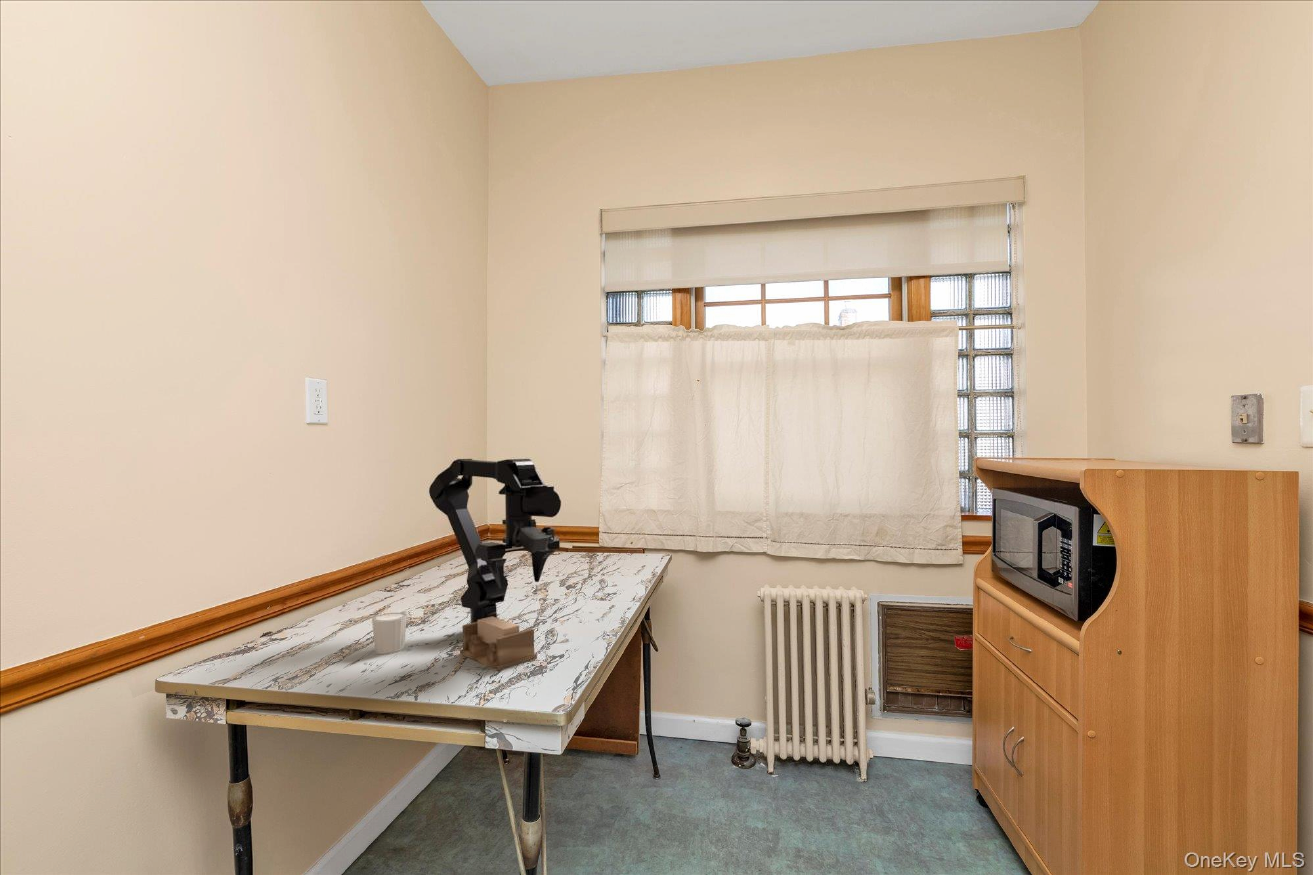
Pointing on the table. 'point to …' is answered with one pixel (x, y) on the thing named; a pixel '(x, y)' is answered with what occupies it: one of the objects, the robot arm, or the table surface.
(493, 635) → the tan rectangular block
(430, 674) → the table surface
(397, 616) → the white tapered cup
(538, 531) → the robot arm
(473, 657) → the rack
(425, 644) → the table surface
